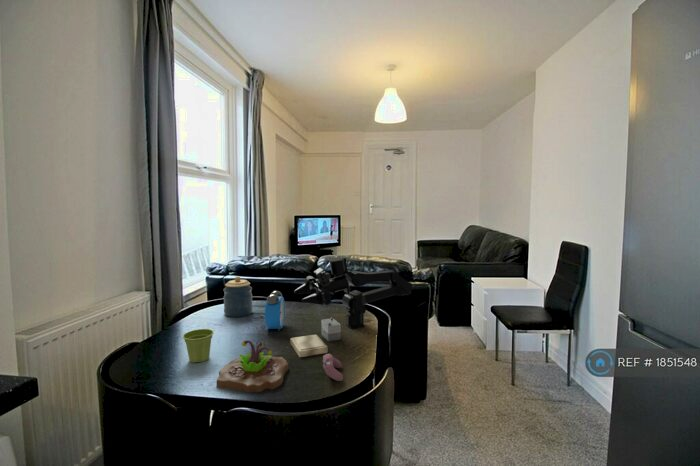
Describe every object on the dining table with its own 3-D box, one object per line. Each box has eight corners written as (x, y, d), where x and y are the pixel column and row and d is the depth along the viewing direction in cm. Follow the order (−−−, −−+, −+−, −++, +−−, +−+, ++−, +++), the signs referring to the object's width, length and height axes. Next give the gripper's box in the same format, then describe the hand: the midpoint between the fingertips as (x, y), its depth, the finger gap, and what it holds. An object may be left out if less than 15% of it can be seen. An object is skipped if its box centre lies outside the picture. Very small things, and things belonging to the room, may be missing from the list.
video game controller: (329, 371, 112) (319, 353, 111) (342, 365, 112) (332, 346, 111) (330, 387, 102) (319, 367, 101) (344, 380, 102) (333, 359, 102)
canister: (258, 312, 169) (257, 275, 168) (236, 319, 158) (235, 280, 157) (240, 307, 176) (239, 272, 175) (217, 314, 165) (216, 277, 164)
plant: (233, 361, 117) (233, 327, 116) (292, 362, 116) (292, 328, 115) (206, 393, 97) (205, 353, 96) (277, 394, 96) (276, 354, 95)
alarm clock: (279, 333, 141) (279, 296, 139) (264, 334, 141) (263, 296, 139) (285, 322, 154) (284, 288, 153) (271, 323, 154) (270, 288, 152)
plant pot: (195, 368, 111) (194, 341, 110) (177, 361, 116) (176, 335, 115) (220, 357, 119) (219, 332, 118) (202, 351, 124) (201, 327, 123)
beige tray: (316, 339, 135) (316, 333, 135) (327, 352, 123) (327, 346, 123) (290, 343, 131) (290, 337, 131) (299, 357, 119) (299, 350, 119)
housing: (333, 332, 142) (333, 316, 142) (340, 339, 135) (340, 322, 134) (321, 334, 140) (321, 318, 140) (328, 341, 133) (328, 324, 132)
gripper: (322, 260, 150) (287, 270, 144) (342, 273, 134) (303, 285, 128) (325, 284, 153) (291, 294, 147) (345, 300, 137) (307, 312, 131)
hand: (298, 296), depth 138 cm, fingers open, 9 cm apart
